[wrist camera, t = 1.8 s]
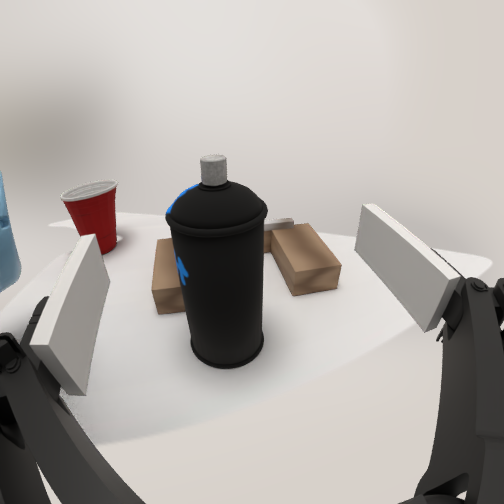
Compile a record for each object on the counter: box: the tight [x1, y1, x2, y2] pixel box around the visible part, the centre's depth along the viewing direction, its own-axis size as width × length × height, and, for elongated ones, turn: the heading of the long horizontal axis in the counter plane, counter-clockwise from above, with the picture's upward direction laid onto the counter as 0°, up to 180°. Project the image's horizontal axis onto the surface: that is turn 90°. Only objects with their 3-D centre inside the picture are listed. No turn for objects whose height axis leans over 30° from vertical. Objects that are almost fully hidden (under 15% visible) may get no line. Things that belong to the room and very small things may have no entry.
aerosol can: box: [165, 155, 268, 368], centre depth 26 cm, size 8×8×20 cm
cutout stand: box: [152, 218, 342, 314], centre depth 40 cm, size 24×12×5 cm, turn 102°
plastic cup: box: [60, 180, 118, 255], centre depth 45 cm, size 11×11×12 cm
